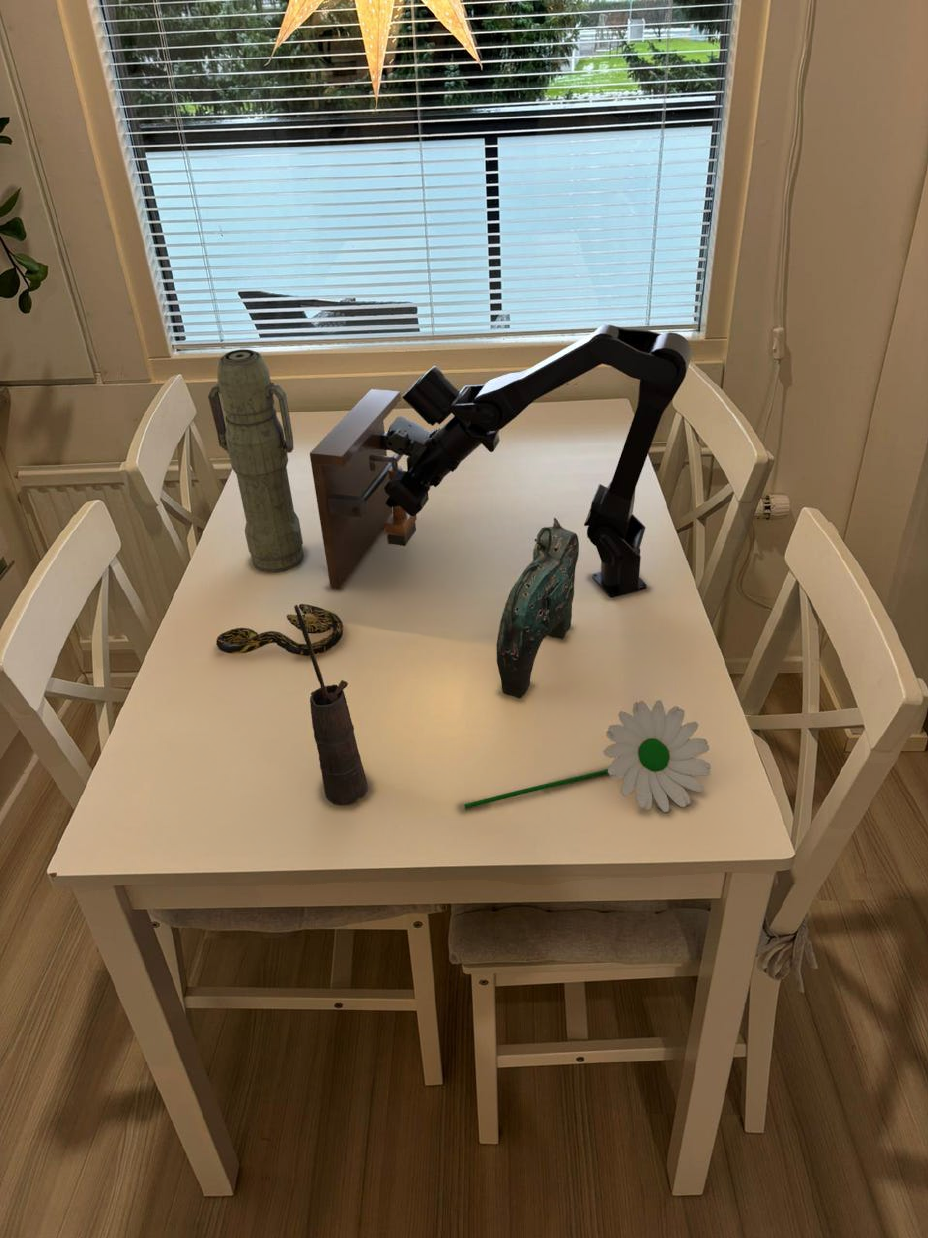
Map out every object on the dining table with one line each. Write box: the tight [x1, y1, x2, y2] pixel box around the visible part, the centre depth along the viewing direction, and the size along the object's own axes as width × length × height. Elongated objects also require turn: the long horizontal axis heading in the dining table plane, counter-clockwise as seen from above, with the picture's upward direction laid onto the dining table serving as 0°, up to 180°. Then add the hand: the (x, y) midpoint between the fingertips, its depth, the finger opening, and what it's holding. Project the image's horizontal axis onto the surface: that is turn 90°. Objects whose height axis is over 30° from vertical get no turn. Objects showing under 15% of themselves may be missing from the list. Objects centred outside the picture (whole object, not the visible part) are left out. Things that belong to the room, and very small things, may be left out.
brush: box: [369, 455, 418, 547], centre depth 148 cm, size 6×6×14 cm
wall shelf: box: [309, 388, 405, 590], centre depth 149 cm, size 7×24×24 cm, turn 163°
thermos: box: [207, 348, 305, 574], centre depth 145 cm, size 9×12×35 cm
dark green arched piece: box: [496, 517, 580, 700], centre depth 125 cm, size 20×6×20 cm, turn 152°
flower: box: [463, 700, 712, 813], centre depth 110 cm, size 13×6×30 cm
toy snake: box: [215, 603, 344, 657], centre depth 135 cm, size 18×5×10 cm
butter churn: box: [293, 604, 369, 806], centre depth 105 cm, size 9×10×28 cm
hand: (390, 500), depth 149 cm, fingers closed on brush, 2 cm apart
